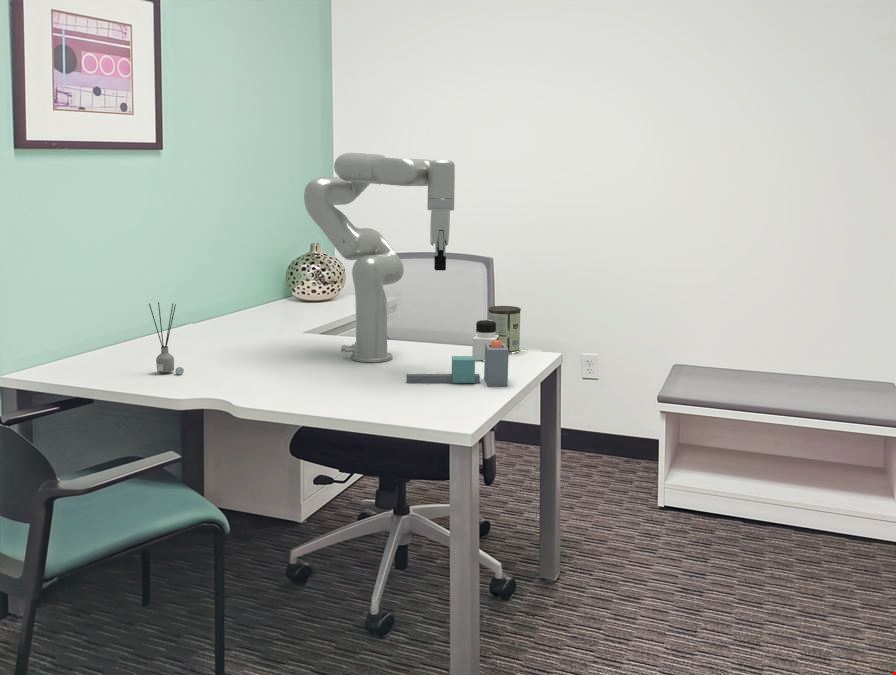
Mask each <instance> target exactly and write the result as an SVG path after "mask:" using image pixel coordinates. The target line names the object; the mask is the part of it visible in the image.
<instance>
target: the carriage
mask: <svg viewBox="0 0 896 675" xmlns="http://www.w3.org/2000/svg"><path fill="white" fill-rule="evenodd" d="M451 374H452V383H451V384H476V383H475V374H476V361H475V359H474V356H472V355H452V356H451Z"/></svg>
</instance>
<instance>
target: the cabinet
mask: <svg viewBox="0 0 896 675" xmlns="http://www.w3.org/2000/svg"><path fill="white" fill-rule="evenodd" d="M508 353H509V350H508V348H507V346H506V345H505V343H502V348H491V343H485V361H484V364H483V365H484V367H483V368H484V370H483V372H484V373H483V374H484V376H483V379H484V382H485V384H486V387H508V386H509V385H508V382H509V354H508Z"/></svg>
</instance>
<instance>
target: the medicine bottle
mask: <svg viewBox="0 0 896 675" xmlns="http://www.w3.org/2000/svg"><path fill="white" fill-rule="evenodd" d="M475 326H476V328H475V329H476V330H475V336H473V338H472V347H471V348H472V351H471V352H472V353H471V354H472V355H471V356H474V359H475V360H485V343H491V341H492V340H499V335H495V334H496V323H495V322H494V321H492V320H489V319H481V320H478V321H476V325H475Z"/></svg>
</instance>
